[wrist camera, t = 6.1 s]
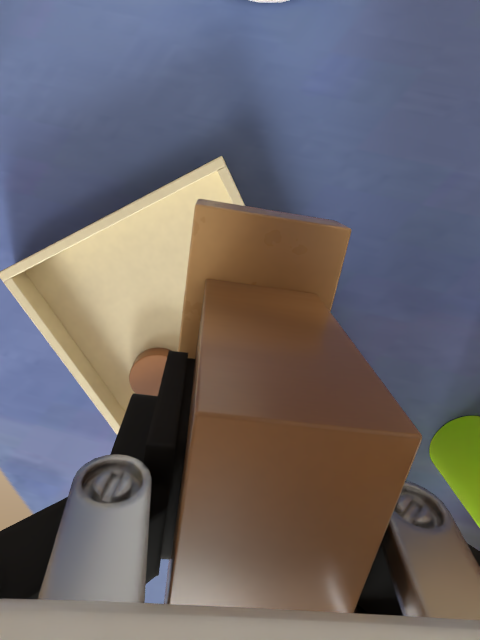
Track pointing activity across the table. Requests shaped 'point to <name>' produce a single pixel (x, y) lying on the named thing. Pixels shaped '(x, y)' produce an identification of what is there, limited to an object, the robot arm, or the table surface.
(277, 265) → the brush
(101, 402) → the tray
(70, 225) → the table surface
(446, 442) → the lime green pump bottle
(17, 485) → the table surface
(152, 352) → the cork disc
